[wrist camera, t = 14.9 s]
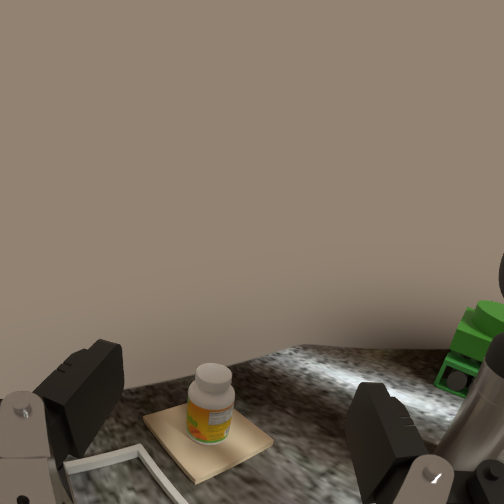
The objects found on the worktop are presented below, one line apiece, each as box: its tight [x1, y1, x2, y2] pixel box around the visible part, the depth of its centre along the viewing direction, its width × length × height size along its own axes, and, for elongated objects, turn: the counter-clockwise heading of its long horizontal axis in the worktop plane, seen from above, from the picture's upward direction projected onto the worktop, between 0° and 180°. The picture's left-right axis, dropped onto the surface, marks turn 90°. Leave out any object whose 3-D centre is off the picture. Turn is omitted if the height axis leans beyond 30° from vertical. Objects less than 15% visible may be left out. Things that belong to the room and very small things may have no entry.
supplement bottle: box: [186, 363, 235, 445], centre depth 33 cm, size 5×5×10 cm
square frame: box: [65, 444, 188, 504], centre depth 20 cm, size 13×13×1 cm
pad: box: [143, 403, 274, 485], centre depth 34 cm, size 12×12×1 cm
